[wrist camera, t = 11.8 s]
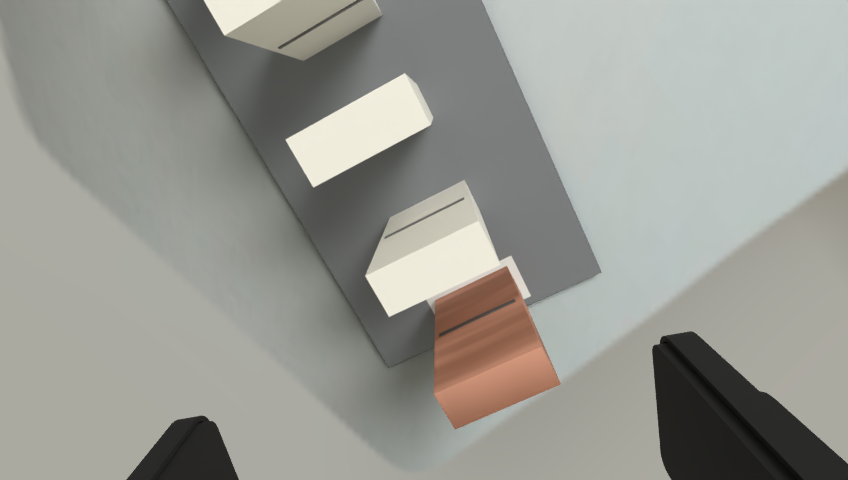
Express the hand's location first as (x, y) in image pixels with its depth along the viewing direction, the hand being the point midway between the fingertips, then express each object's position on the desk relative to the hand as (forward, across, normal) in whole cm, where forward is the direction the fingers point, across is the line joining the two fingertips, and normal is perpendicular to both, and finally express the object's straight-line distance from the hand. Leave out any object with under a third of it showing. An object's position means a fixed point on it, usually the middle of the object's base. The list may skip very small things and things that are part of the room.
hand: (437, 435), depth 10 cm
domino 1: (+19, +3, -12) cm, 23 cm away
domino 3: (+19, 0, 0) cm, 19 cm away
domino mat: (+20, +2, -7) cm, 21 cm away
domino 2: (+19, +2, -6) cm, 20 cm away
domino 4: (+19, -2, +6) cm, 20 cm away
